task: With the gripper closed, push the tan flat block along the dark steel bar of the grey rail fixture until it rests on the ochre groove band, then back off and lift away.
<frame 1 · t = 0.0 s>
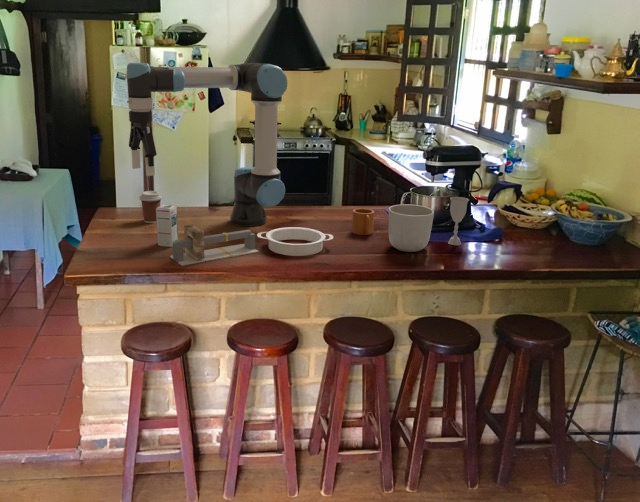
hand: (143, 171, 226), 28 cm above the countertop, fingers open, 13 cm apart
mug: (362, 233, 262), on the countertop
planter: (407, 249, 245), on the countertop
chalice: (454, 243, 254), on the countertop
pot: (295, 248, 242), on the countertop
coffee cup: (152, 221, 267), on the countertop
rail: (215, 254, 230), on the countertop
tan flat block: (194, 241, 224), point 6 cm above the countertop, slide at 0.0 cm
syrup box: (168, 244, 239), on the countertop
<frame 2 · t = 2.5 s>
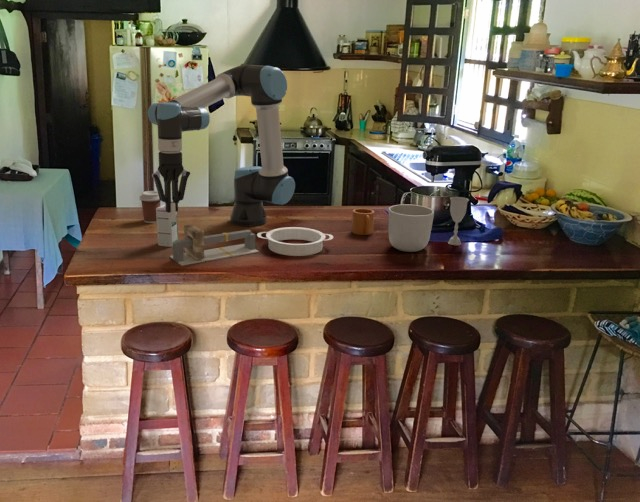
hand: (172, 221, 217), 15 cm above the countertop, fingers closed
nothing on the countertop moved.
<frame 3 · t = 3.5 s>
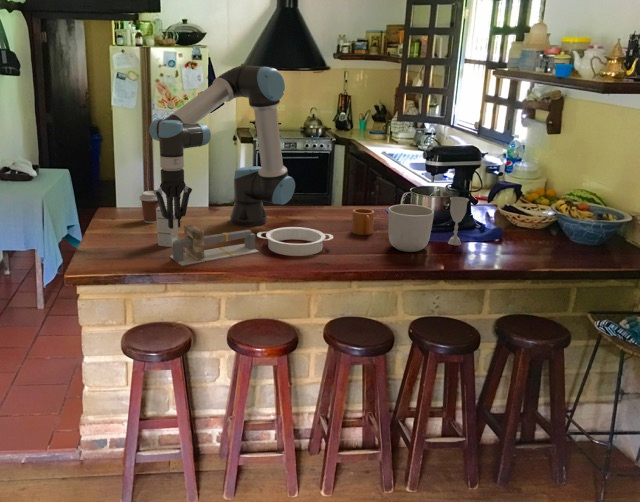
hand: (174, 236, 219), 9 cm above the countertop, fingers closed
nothing on the countertop moved.
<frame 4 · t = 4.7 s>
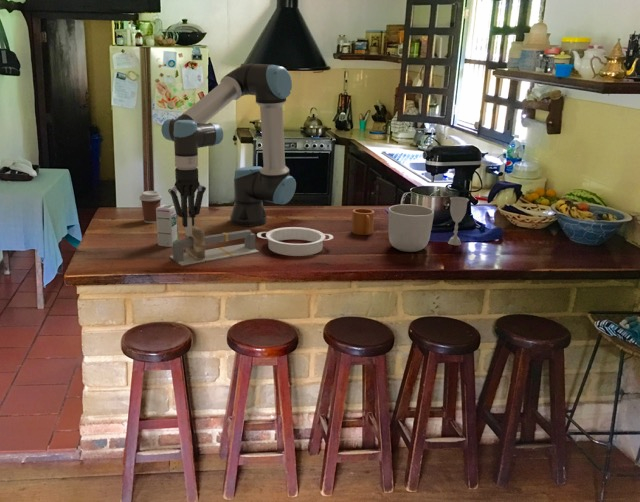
hand: (188, 235, 222), 9 cm above the countertop, fingers closed
tan flat block: (194, 241, 224), point 6 cm above the countertop, slide at 0.3 cm, touching gripper
everything else where it was.
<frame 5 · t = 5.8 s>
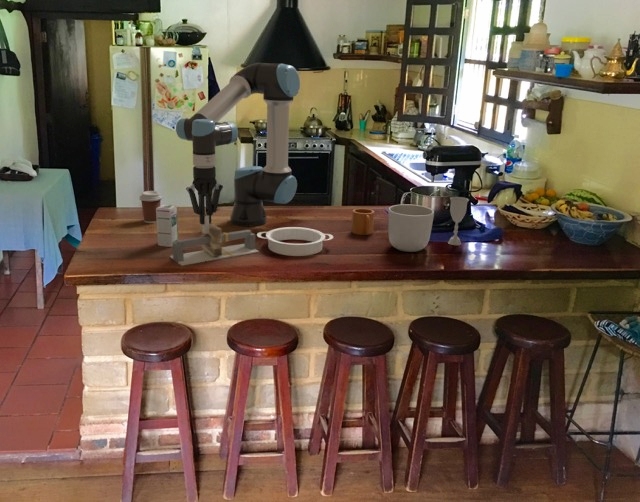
hand: (205, 232, 225), 9 cm above the countertop, fingers closed
tan flat block: (211, 239, 227), point 6 cm above the countertop, slide at 6.7 cm, touching gripper
everything else where it was.
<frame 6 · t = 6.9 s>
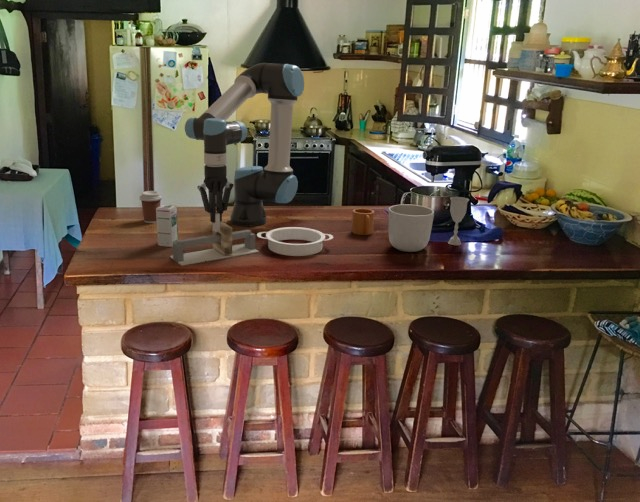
hand: (216, 230, 228), 9 cm above the countertop, fingers closed
tan flat block: (222, 237, 230), point 6 cm above the countertop, slide at 10.8 cm, touching gripper
everything else where it was.
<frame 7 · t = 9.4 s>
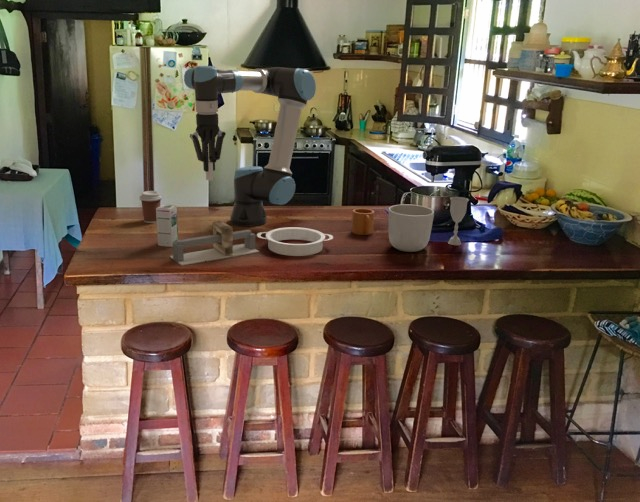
hand: (209, 180, 229), 25 cm above the countertop, fingers closed
tan flat block: (222, 237, 230), point 6 cm above the countertop, slide at 11.0 cm
everything else where it was.
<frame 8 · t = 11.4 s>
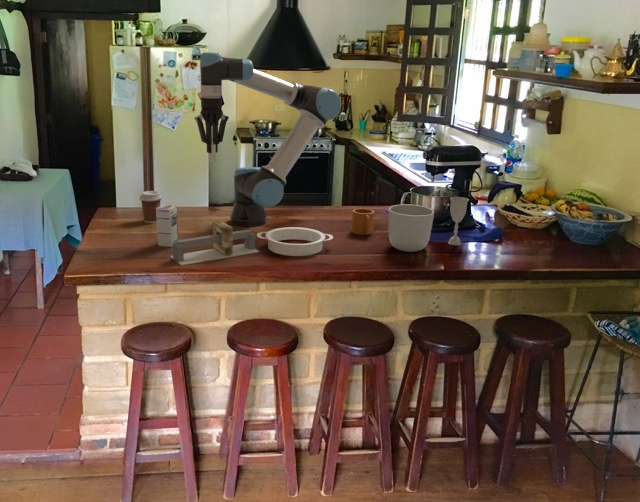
hand: (212, 161, 241), 29 cm above the countertop, fingers closed
nothing on the countertop moved.
at the end: tan flat block slide at 11.0 cm; tan flat block touching nothing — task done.
